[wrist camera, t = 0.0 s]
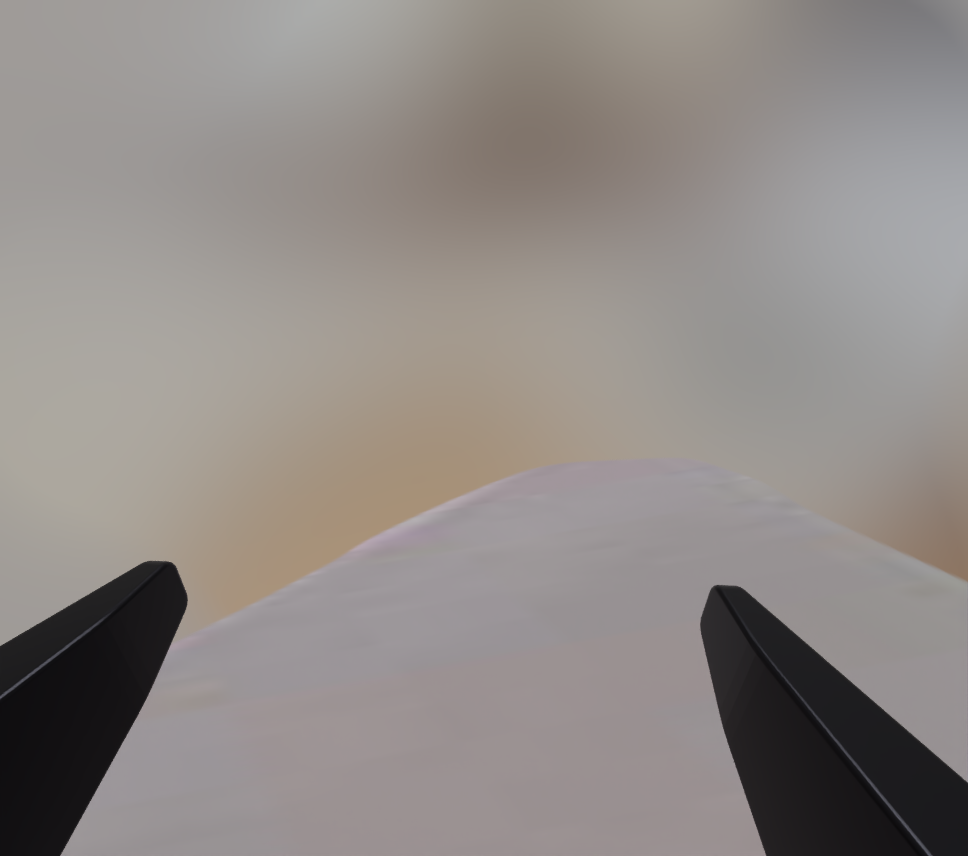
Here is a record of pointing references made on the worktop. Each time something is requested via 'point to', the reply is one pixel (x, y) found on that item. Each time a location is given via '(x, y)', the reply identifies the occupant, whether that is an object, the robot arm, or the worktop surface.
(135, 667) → the robot arm
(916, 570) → the worktop surface
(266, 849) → the worktop surface
